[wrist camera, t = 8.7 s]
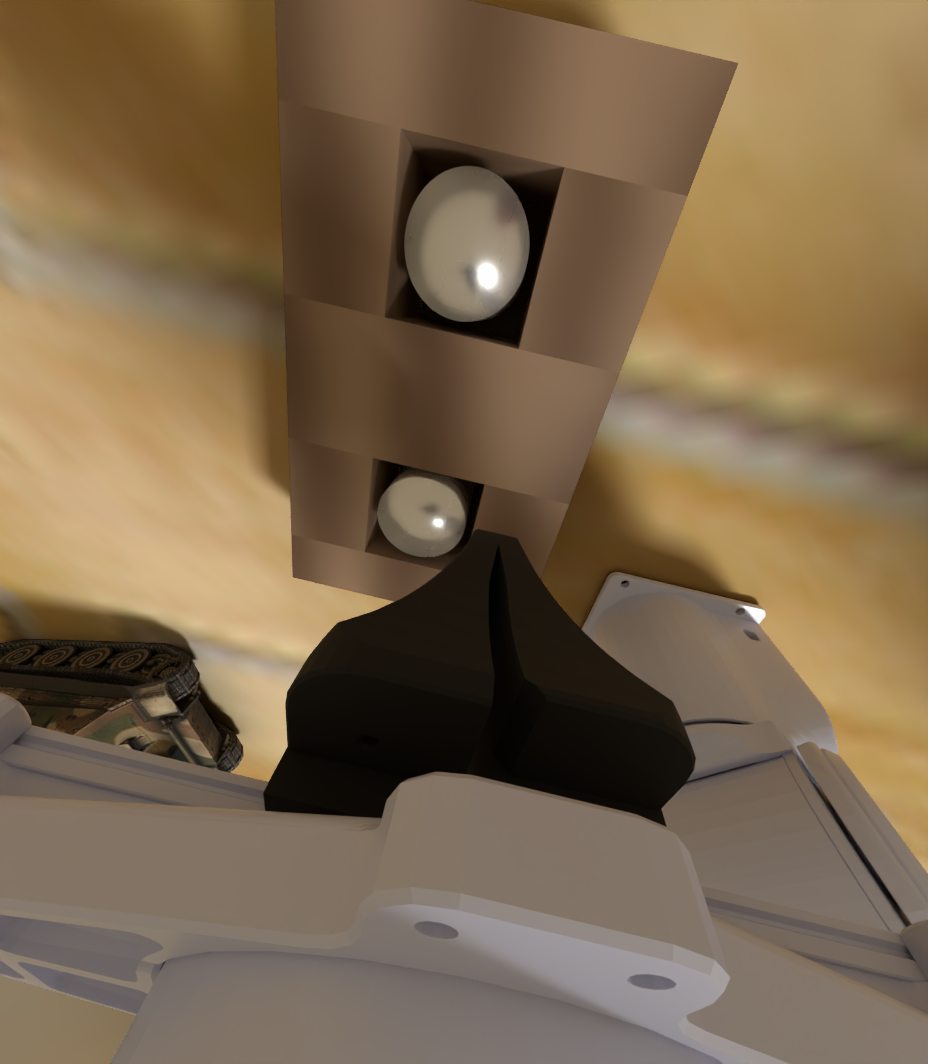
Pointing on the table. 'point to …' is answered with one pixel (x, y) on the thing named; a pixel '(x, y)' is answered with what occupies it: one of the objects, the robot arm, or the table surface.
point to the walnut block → (388, 293)
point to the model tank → (118, 697)
